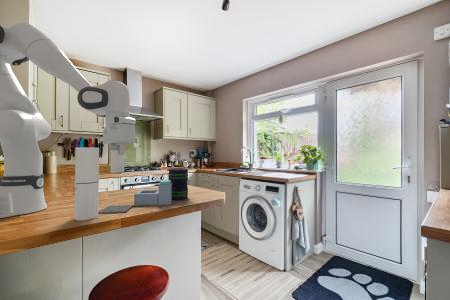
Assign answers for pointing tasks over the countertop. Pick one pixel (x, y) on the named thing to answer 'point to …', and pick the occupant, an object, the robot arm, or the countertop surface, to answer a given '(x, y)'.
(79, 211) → the cylindrical container
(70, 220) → the countertop surface
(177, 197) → the storage jar
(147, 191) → the filter housing
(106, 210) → the rubber mat
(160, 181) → the plunger
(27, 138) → the robot arm
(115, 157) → the filter cartridge
